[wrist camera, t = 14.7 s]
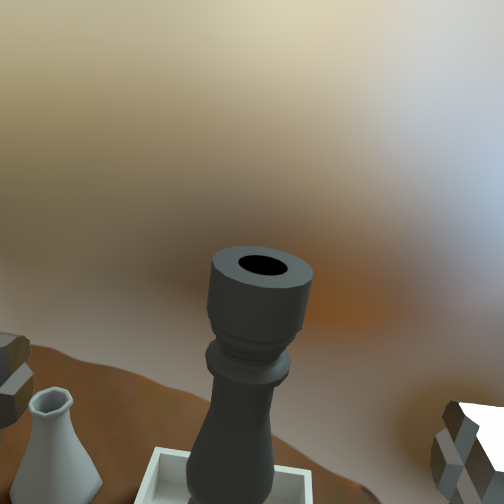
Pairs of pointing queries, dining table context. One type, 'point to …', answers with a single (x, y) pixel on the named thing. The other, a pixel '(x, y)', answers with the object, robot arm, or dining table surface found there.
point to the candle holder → (246, 370)
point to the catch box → (177, 495)
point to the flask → (54, 456)
